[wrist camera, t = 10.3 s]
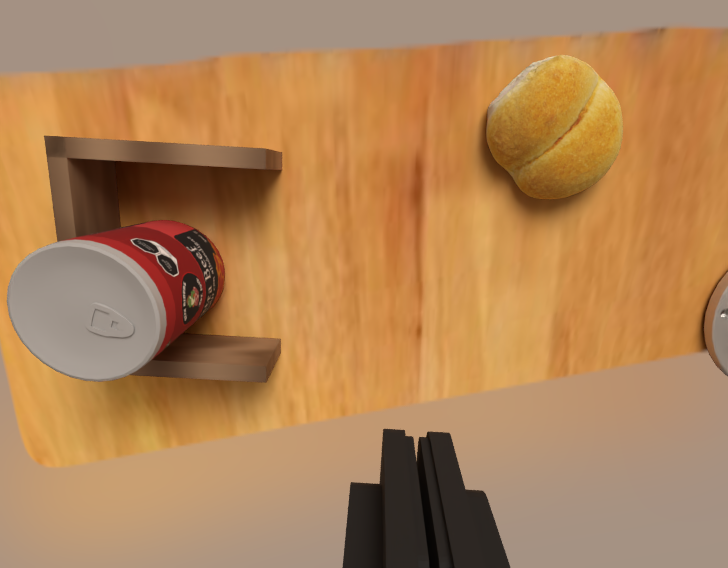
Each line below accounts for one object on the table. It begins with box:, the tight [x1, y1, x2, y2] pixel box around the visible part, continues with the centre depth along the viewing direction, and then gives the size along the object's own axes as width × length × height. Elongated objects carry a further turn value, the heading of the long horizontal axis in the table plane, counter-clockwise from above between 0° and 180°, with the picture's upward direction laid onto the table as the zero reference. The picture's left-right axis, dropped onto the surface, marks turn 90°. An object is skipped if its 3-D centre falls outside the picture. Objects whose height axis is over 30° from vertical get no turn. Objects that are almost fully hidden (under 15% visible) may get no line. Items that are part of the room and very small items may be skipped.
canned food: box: [7, 220, 225, 382], centre depth 27 cm, size 8×8×11 cm
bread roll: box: [486, 55, 623, 199], centre depth 28 cm, size 8×9×4 cm
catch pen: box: [44, 136, 282, 383], centre depth 30 cm, size 13×15×5 cm
